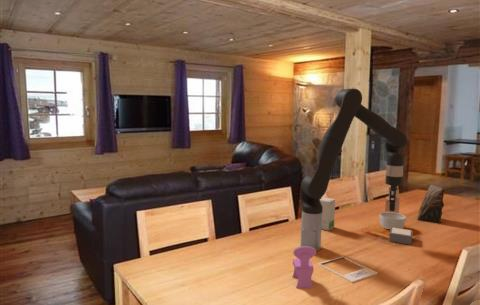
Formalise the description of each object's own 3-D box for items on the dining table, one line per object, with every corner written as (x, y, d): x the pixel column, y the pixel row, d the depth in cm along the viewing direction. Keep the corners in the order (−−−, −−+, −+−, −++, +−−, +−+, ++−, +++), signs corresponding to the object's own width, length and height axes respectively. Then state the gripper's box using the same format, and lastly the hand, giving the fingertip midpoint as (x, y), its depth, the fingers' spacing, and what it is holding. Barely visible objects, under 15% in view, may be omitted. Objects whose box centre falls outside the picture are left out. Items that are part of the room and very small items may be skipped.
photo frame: (352, 281, 136) (317, 263, 151) (351, 284, 136) (317, 265, 151) (377, 272, 144) (342, 255, 159) (377, 274, 144) (342, 258, 159)
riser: (411, 244, 174) (412, 236, 174) (389, 241, 179) (389, 232, 178) (411, 238, 183) (412, 230, 183) (390, 234, 188) (391, 226, 187)
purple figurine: (310, 276, 141) (312, 239, 139) (316, 288, 132) (318, 248, 130) (289, 276, 140) (290, 239, 138) (293, 288, 132) (294, 248, 130)
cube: (398, 213, 172) (399, 200, 171) (385, 211, 175) (385, 199, 174) (399, 209, 177) (400, 197, 176) (386, 208, 180) (386, 196, 179)
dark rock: (424, 215, 222) (427, 183, 219) (447, 220, 213) (450, 186, 210) (416, 219, 213) (419, 186, 211) (439, 225, 204) (443, 190, 202)
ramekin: (400, 224, 204) (401, 212, 203) (408, 232, 191) (409, 220, 190) (376, 223, 205) (376, 211, 205) (382, 231, 192) (383, 218, 192)
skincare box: (328, 231, 192) (329, 202, 189) (316, 228, 195) (317, 199, 193) (334, 227, 198) (336, 198, 196) (323, 224, 202) (324, 196, 200)
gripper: (402, 178, 165) (400, 214, 168) (403, 172, 178) (401, 206, 181) (384, 176, 169) (382, 212, 171) (387, 171, 182) (385, 204, 184)
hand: (392, 208), depth 176 cm, fingers closed on cube, 6 cm apart
